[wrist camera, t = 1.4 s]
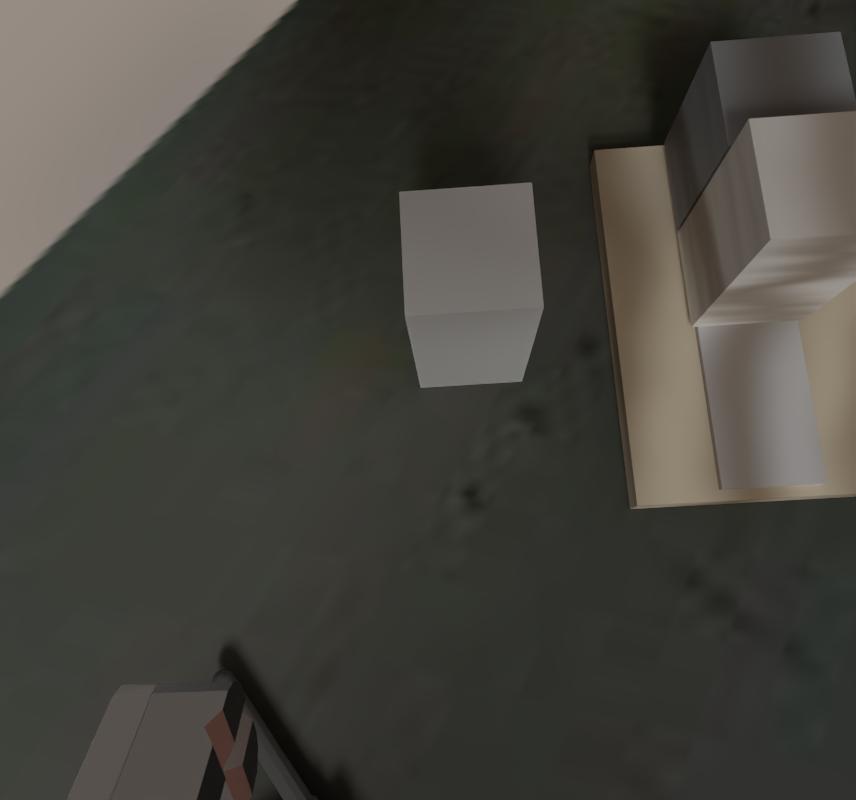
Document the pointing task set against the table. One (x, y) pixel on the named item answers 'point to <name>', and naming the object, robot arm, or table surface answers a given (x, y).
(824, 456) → the rail board
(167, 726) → the robot arm
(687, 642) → the table surface
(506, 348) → the block
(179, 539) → the table surface
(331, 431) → the table surface
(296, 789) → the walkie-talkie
